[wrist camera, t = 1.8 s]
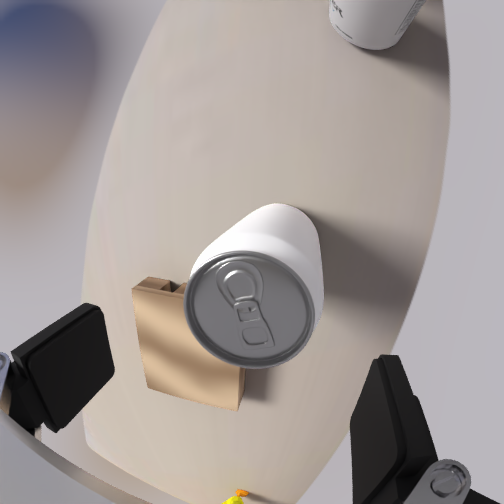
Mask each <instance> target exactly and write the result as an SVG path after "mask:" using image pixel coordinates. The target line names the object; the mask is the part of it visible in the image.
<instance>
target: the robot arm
mask: <svg viewBox="0 0 504 504" xmlns="http://www.w3.org/2000/svg"><path fill="white" fill-rule="evenodd" d="M11 354H12V356H13V359H14V362H12V363H11V360H10V358H9V356H8V355H7V354H6V353H3V352H0V504H152V503H149V502H146V501H144V500H142V499H139V498H137V497H135V496H133V495H130V494H128V493H126V492H124V491H122V490H120V489H117V488H116V487H113V486H112V485H109V484H108V483H105V482H104V481H102V480H100V479H98V478H96V477H95V476H93V475H91V474H89V473H87V472H86V471H84V470H82V469H81V468H79V467H77V466H76V465H74V464H72V463H71V462H69V461H68V460H66V459H65V458H63V457H62V456H60V455H58V454H57V453H56V452H54V451H53V450H51V449H50V448H48V447H47V446H45V445H44V444H43V443H42V442H41V424H42V423H43V422H44V424H45V425H46V427H47V428H49V429H50V430H52V431H53V432H55V433H57V432H58V431H59V430H60V429H61V428H64V427H66V426H67V424H68V423H69V422H70V421H71V420H72V419H73V418H74V417H75V416H76V415H77V414H78V413H79V412H80V411H81V409H82V408H83V407H84V406H85V405H86V404H87V403H88V402H89V401H90V400H91V399H92V398H93V397H94V396H95V395H96V394H97V392H98V391H99V390H100V389H101V388H102V387H103V386H104V385H105V384H106V383H107V382H108V381H109V380H110V379H111V378H112V376H113V375H114V372H115V367H114V363H113V359H112V354H111V350H110V345H109V340H108V335H107V330H106V325H105V319H104V314H103V312H102V311H101V309H100V307H98V306H96V305H93V304H89V303H84V304H82V305H81V306H79V307H77V308H76V309H74V310H73V311H71V312H70V313H68V314H66V315H65V316H63V317H62V318H60V319H59V320H57V321H56V322H54V323H53V324H51V325H49V326H48V327H46V328H45V329H43V330H42V331H40V332H39V333H37V334H36V335H34V336H33V337H31V338H30V339H28V340H27V341H26V342H24V343H23V344H21V345H20V346H18V347H17V348H16V349H14V350H12V351H11ZM350 435H351V454H352V480H353V481H352V482H353V504H500V503H498V502H496V501H494V500H491V499H490V498H488V497H486V496H484V495H482V494H480V493H477V492H476V491H473V490H472V489H470V485H471V476H470V474H469V471H468V470H467V468H466V467H465V466H464V465H463V464H461V463H460V462H458V461H455V460H451V459H443V460H440V461H438V457H437V454H436V450H435V447H434V443H433V440H432V437H431V434H430V431H429V428H428V425H427V422H426V419H425V416H424V413H423V410H422V407H421V404H420V401H419V399H418V397H417V396H415V395H413V392H412V389H411V386H410V384H409V381H408V378H407V376H406V373H405V371H404V368H403V365H402V364H401V360H400V358H399V356H398V355H380V356H379V358H378V359H374V360H373V362H372V364H371V367H370V370H369V373H368V376H367V378H366V381H365V384H364V386H363V389H362V392H361V394H360V397H359V399H358V402H357V404H356V407H355V409H354V411H353V414H352V416H351V420H350Z"/></svg>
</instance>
